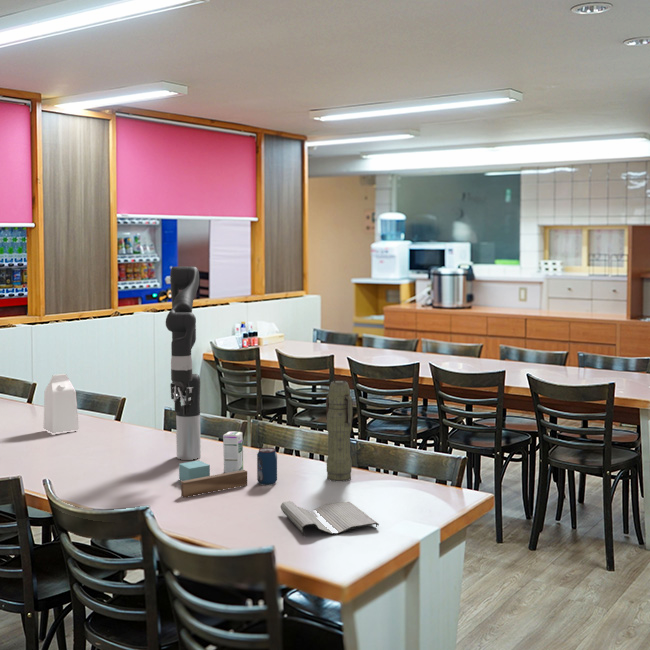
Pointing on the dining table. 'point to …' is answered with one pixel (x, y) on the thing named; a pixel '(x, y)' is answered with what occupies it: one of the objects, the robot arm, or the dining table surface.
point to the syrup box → (233, 451)
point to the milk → (60, 405)
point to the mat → (328, 516)
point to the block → (193, 470)
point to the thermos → (339, 431)
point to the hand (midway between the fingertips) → (182, 413)
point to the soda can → (267, 466)
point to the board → (213, 483)
